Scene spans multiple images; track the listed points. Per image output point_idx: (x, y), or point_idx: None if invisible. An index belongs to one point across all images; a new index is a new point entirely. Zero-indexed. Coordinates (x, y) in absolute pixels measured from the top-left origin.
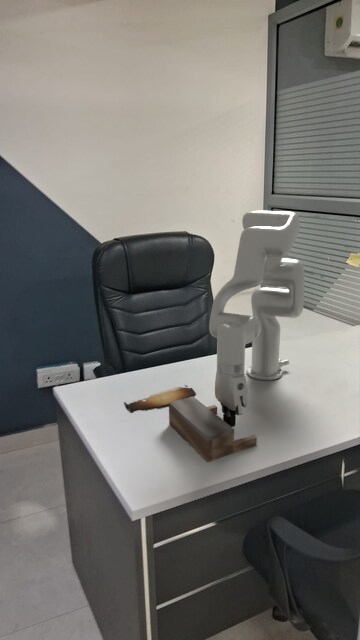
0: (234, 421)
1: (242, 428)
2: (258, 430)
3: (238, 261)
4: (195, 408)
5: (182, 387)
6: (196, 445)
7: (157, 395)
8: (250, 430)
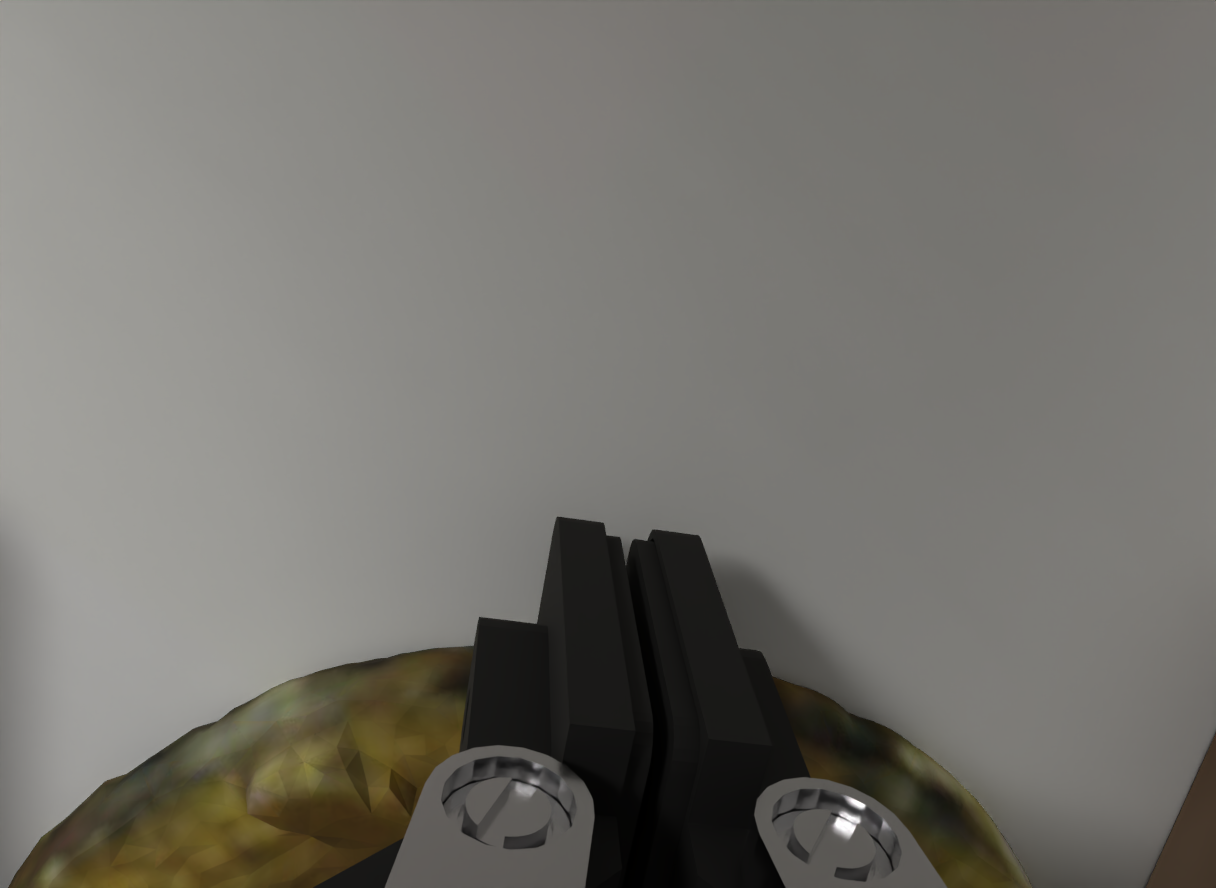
0: (779, 703)
1: (767, 329)
2: (1113, 80)
3: None
4: None
5: None
6: None
7: None
8: (964, 243)
